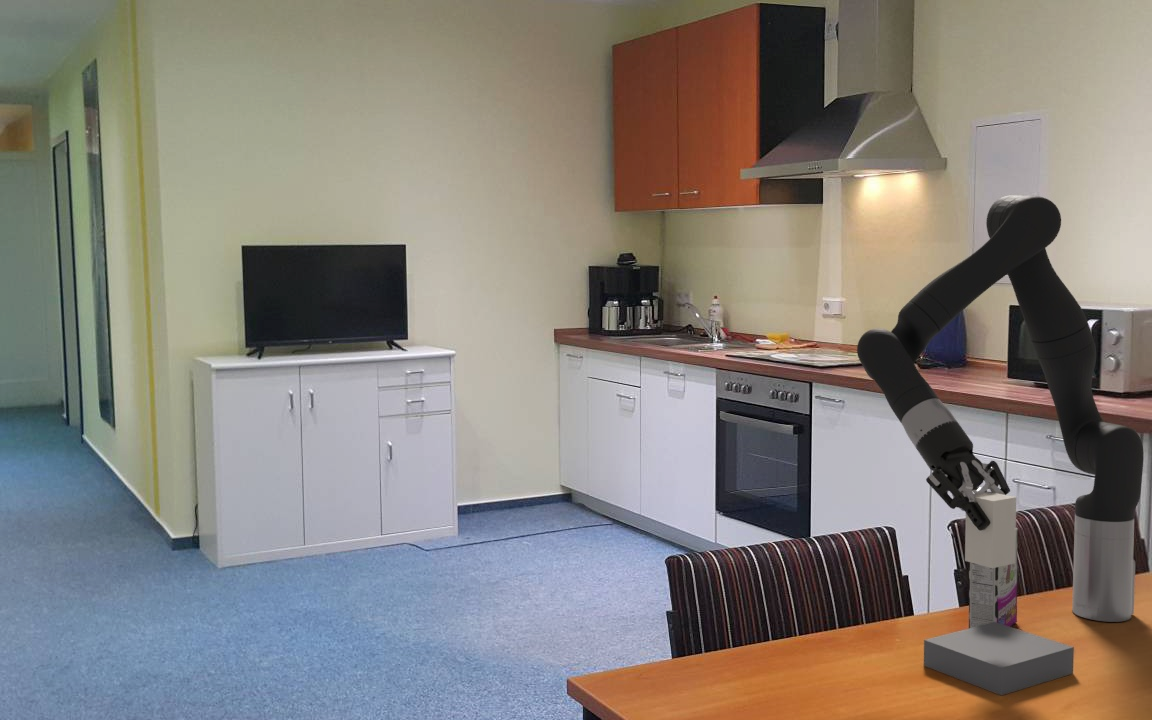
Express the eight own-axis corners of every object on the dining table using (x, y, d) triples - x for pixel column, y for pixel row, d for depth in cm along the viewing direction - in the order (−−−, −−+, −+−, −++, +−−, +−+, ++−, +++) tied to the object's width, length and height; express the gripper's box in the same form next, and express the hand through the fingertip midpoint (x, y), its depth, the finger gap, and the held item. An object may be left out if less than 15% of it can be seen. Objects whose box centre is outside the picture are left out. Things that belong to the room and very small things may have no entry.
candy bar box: (987, 617, 193) (989, 523, 191) (1017, 623, 190) (1019, 527, 188) (965, 635, 184) (967, 536, 182) (997, 640, 181) (999, 540, 179)
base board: (994, 646, 178) (994, 621, 178) (1073, 673, 166) (1073, 647, 166) (923, 665, 170) (924, 639, 169) (1001, 695, 158) (1001, 667, 157)
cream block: (987, 556, 172) (988, 491, 171) (1015, 563, 167) (1016, 497, 166) (965, 560, 169) (966, 495, 168) (992, 568, 165) (993, 501, 164)
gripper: (916, 423, 170) (980, 516, 160) (981, 415, 177) (1046, 504, 168) (890, 453, 175) (950, 545, 165) (954, 444, 182) (1015, 532, 173)
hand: (998, 524), depth 167 cm, fingers closed on cream block, 5 cm apart
